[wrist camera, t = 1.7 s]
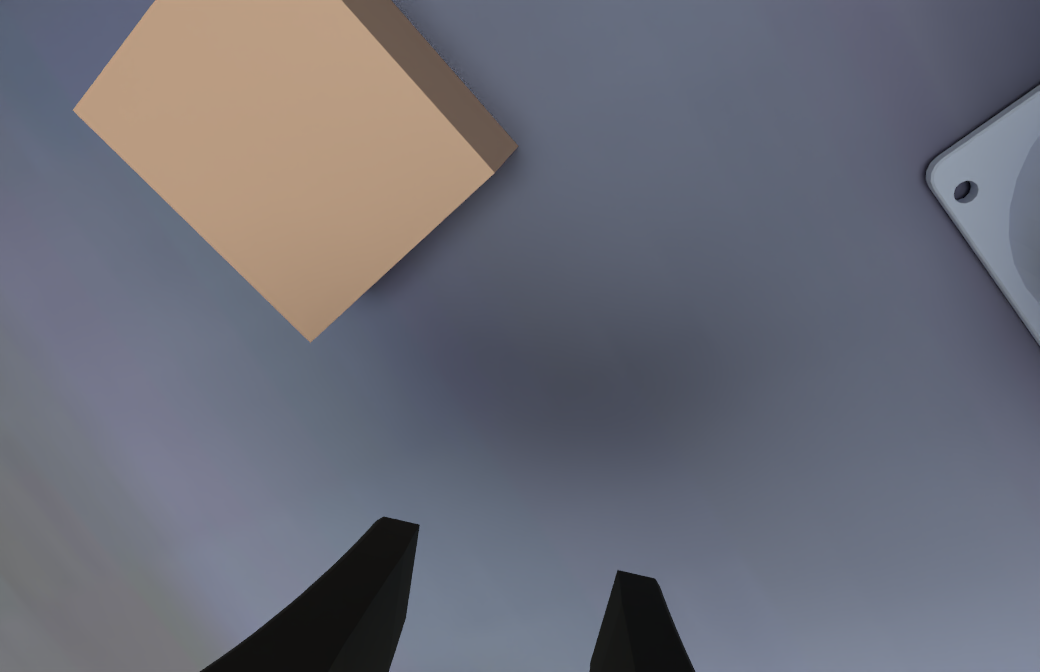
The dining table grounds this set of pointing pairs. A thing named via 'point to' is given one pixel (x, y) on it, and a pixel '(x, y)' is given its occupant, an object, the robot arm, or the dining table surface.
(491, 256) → the dining table surface
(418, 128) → the tan rectangular block
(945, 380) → the dining table surface
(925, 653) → the dining table surface
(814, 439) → the dining table surface
